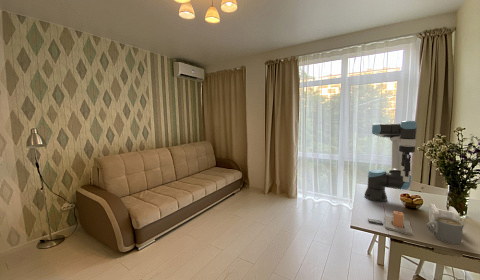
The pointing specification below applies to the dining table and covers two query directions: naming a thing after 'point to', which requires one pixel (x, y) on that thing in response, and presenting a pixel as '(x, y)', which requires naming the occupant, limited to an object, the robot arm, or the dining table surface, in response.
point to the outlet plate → (403, 230)
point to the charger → (398, 219)
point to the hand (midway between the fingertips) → (404, 178)
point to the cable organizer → (442, 213)
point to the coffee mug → (447, 229)
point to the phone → (375, 221)
